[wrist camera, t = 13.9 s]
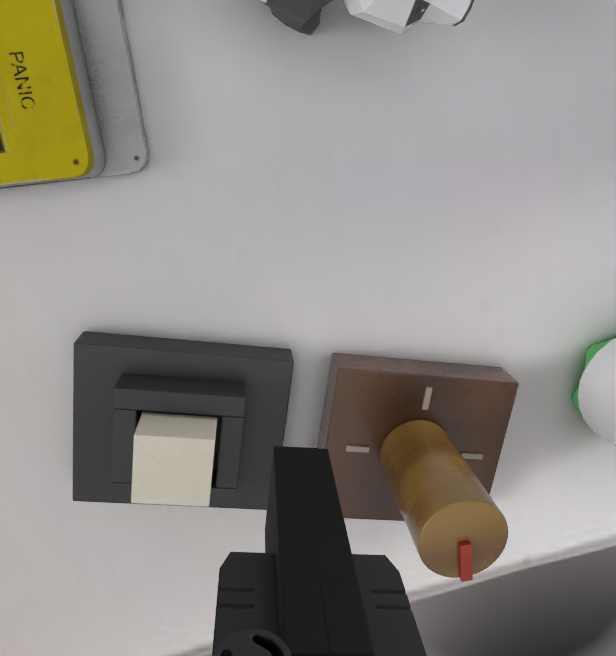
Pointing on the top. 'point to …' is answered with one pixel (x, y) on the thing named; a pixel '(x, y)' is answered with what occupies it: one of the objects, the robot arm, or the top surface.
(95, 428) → the grey stepped base
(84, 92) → the emergency button
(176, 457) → the cream square push button
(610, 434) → the cup
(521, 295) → the top surface
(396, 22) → the giant panda
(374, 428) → the volume panel
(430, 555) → the volume knob
